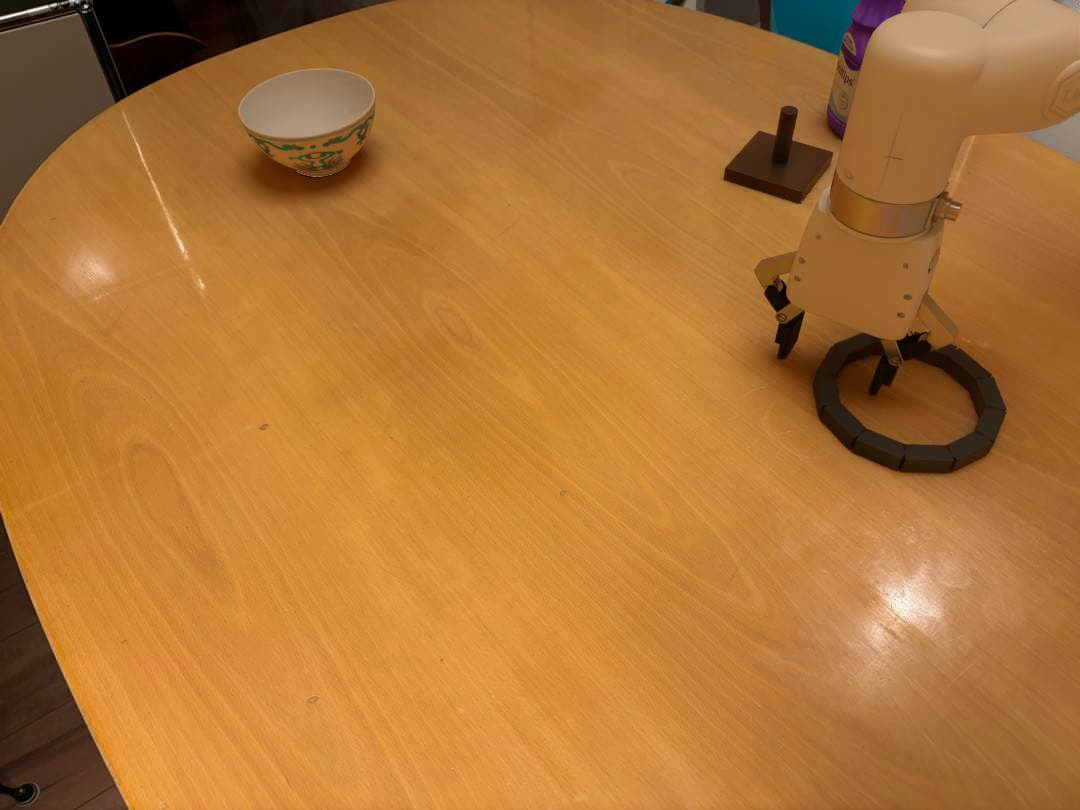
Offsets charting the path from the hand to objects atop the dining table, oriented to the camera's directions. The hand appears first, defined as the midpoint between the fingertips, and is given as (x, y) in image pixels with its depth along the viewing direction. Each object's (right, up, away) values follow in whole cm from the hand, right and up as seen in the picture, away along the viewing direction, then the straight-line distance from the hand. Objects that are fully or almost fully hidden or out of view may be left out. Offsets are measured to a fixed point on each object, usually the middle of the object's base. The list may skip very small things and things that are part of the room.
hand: (831, 366), depth 76 cm
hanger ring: (+6, -3, -2) cm, 7 cm away
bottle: (+12, +30, +28) cm, 42 cm away
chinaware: (-51, +25, +26) cm, 62 cm away
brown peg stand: (+1, +23, +22) cm, 32 cm away
